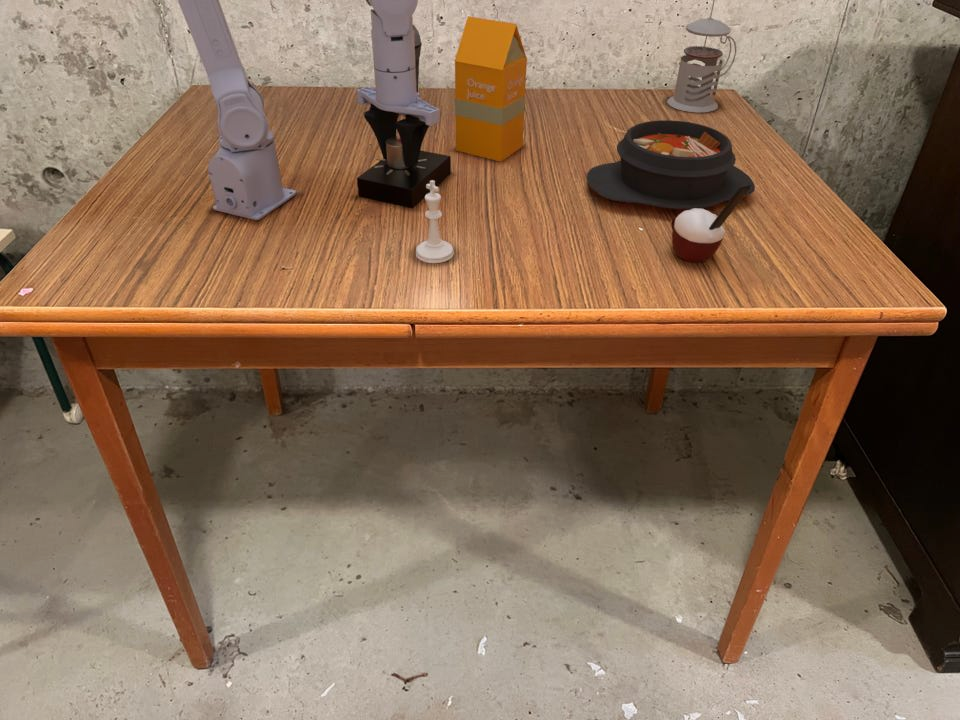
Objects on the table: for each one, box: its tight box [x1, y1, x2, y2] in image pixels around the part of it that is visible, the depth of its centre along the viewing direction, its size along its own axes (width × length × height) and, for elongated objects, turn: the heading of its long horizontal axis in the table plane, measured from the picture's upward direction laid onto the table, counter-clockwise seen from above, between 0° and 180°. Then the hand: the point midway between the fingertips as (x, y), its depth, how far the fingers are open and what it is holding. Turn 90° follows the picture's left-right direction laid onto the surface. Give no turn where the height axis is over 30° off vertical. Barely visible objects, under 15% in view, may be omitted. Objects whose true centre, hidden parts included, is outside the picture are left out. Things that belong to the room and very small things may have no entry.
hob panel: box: [356, 150, 452, 209], centre depth 104 cm, size 13×10×3 cm
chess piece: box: [415, 180, 455, 264], centre depth 86 cm, size 5×5×10 cm
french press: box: [666, 0, 737, 113], centre depth 127 cm, size 10×12×25 cm
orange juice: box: [454, 15, 528, 163], centre depth 110 cm, size 8×9×20 cm
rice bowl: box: [670, 185, 751, 263], centre depth 85 cm, size 10×6×12 cm, turn 6°
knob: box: [386, 135, 410, 169], centre depth 102 cm, size 4×4×4 cm
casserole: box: [586, 119, 756, 210], centre depth 101 cm, size 25×19×8 cm
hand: (400, 161), depth 103 cm, fingers closed on knob, 4 cm apart
